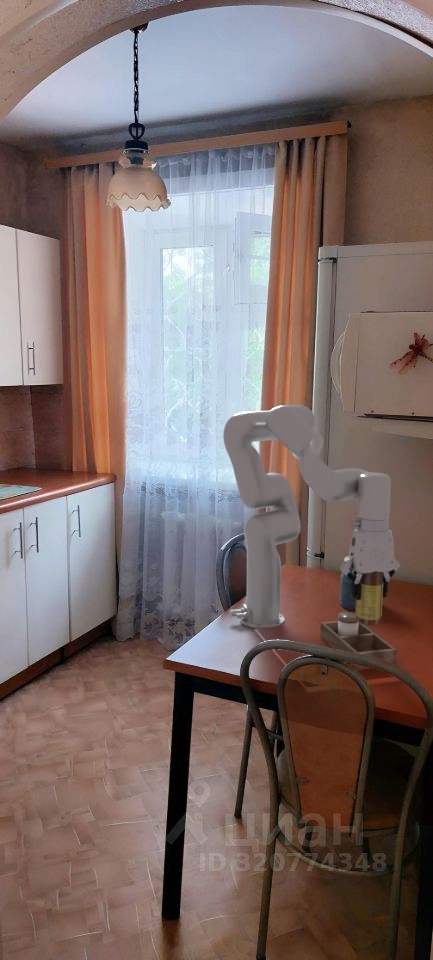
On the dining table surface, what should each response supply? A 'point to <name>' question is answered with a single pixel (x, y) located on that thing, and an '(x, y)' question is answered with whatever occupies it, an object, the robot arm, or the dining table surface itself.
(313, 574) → the dining table surface
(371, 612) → the sauce bottle
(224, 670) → the dining table surface
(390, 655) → the caddy
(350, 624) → the spice jar
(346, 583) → the canister
